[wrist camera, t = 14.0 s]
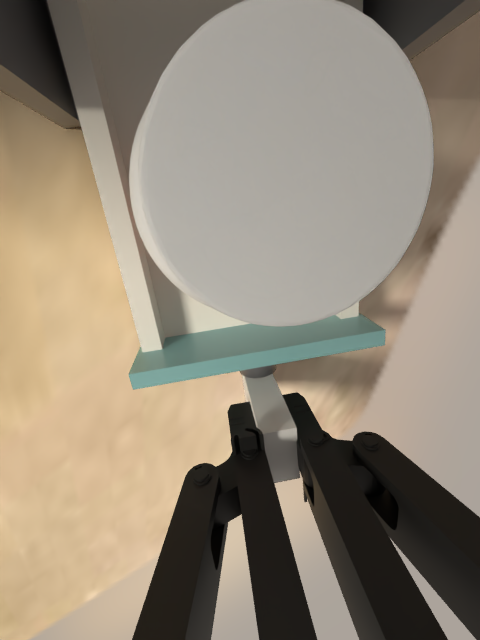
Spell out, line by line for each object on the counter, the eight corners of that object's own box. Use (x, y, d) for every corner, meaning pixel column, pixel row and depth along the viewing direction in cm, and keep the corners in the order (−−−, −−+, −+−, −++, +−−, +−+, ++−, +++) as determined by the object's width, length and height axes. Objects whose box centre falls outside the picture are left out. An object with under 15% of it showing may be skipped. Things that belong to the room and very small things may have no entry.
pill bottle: (261, 283, 16) (363, 405, 6) (148, 242, 15) (37, 312, 5) (310, 165, 15) (562, 63, 4) (187, 106, 13) (147, -243, 3)
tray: (47, -36, 12) (-34, -166, 8) (342, -59, 13) (410, -186, 9) (153, 365, 18) (139, 411, 14) (344, 332, 19) (383, 366, 15)
